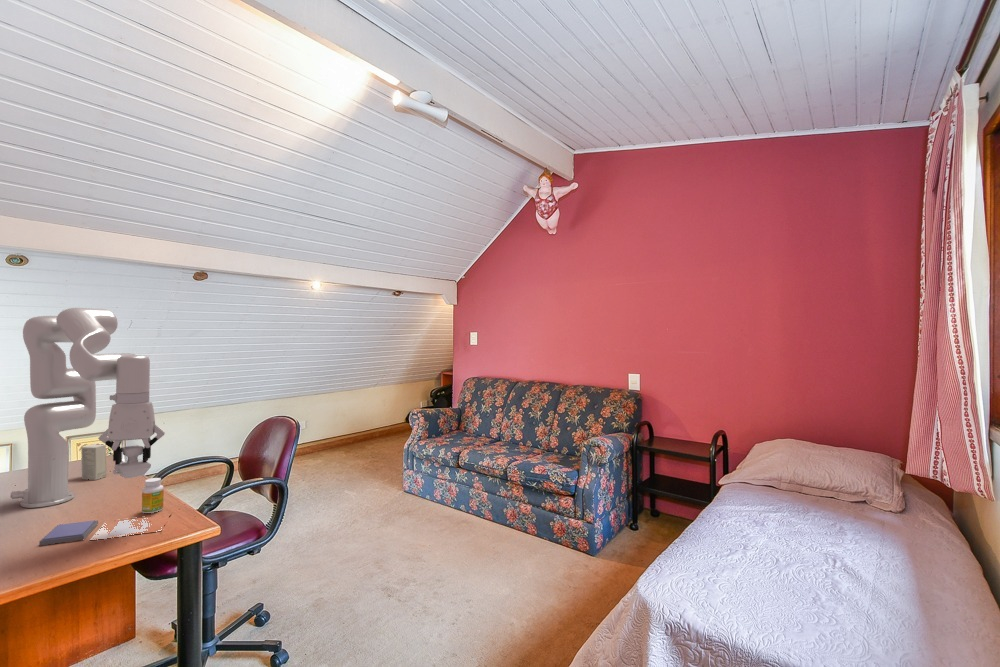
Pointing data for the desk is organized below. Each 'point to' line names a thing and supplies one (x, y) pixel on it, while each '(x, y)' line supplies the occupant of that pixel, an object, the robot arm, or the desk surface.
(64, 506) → the desk surface
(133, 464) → the stamp
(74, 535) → the ink pad
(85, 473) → the skincare box
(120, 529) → the paper
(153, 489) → the supplement bottle
